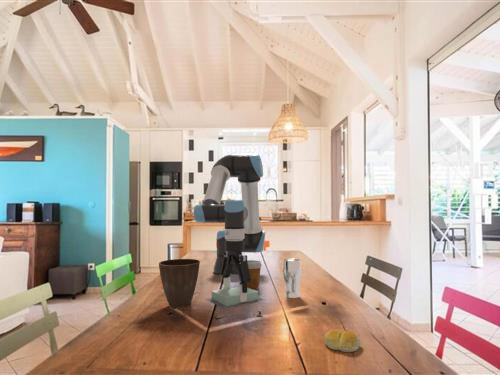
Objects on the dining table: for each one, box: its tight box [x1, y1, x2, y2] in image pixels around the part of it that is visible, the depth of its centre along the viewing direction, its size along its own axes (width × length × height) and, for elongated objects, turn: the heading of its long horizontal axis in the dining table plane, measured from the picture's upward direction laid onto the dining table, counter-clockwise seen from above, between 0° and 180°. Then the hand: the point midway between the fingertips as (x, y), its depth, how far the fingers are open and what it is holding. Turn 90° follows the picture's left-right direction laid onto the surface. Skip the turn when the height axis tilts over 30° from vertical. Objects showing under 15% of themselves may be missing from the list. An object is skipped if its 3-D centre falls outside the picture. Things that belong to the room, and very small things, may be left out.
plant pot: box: [158, 258, 201, 309], centre depth 127 cm, size 15×15×16 cm
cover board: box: [211, 285, 259, 306], centre depth 131 cm, size 11×14×3 cm
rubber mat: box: [205, 296, 266, 309], centre depth 131 cm, size 14×18×1 cm
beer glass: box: [282, 257, 302, 299], centre depth 136 cm, size 7×7×15 cm
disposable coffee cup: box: [247, 259, 263, 290], centre depth 149 cm, size 10×10×12 cm
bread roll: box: [324, 328, 362, 353], centre depth 91 cm, size 8×9×4 cm
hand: (234, 297), depth 131 cm, fingers closed on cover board, 11 cm apart
